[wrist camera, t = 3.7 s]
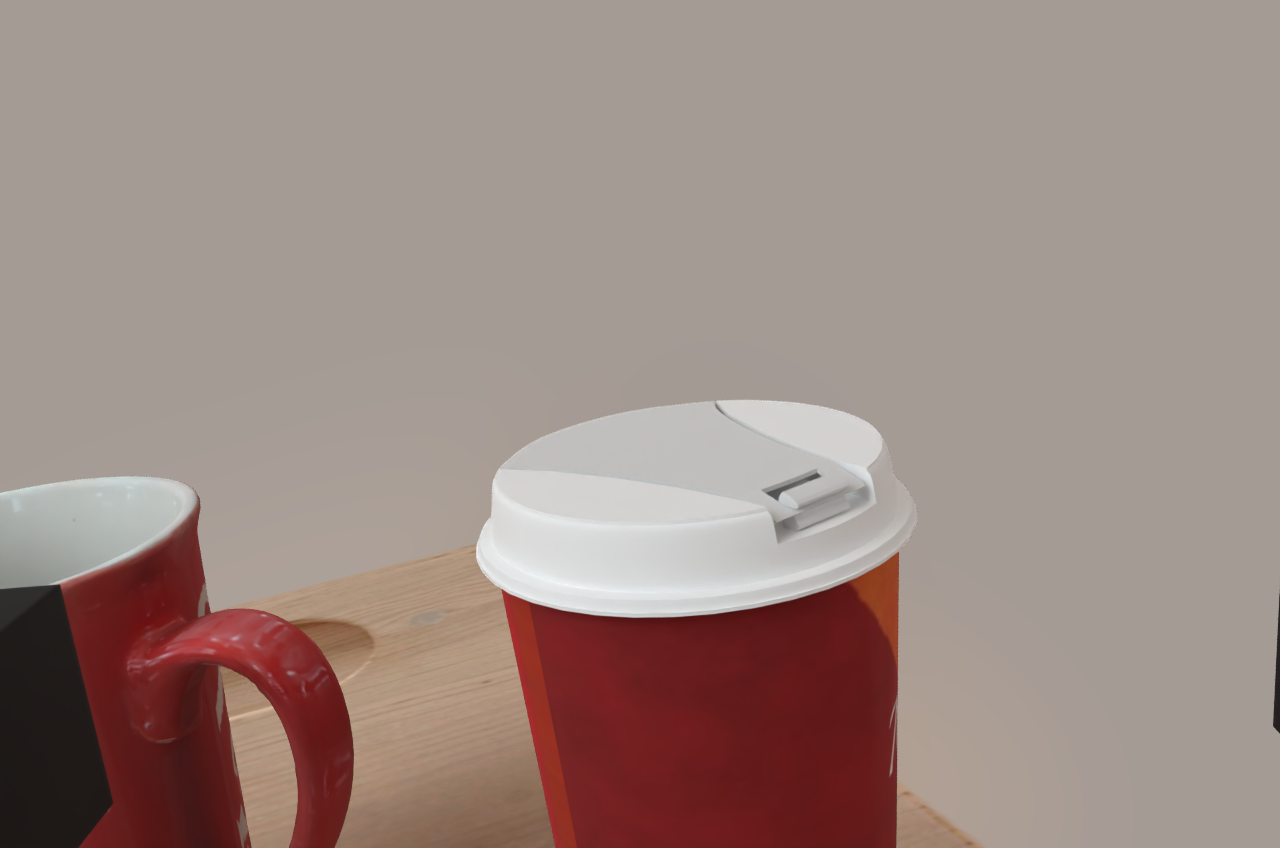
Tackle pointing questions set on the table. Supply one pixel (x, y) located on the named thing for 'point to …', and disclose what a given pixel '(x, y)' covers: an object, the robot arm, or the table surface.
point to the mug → (173, 664)
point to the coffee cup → (707, 624)
